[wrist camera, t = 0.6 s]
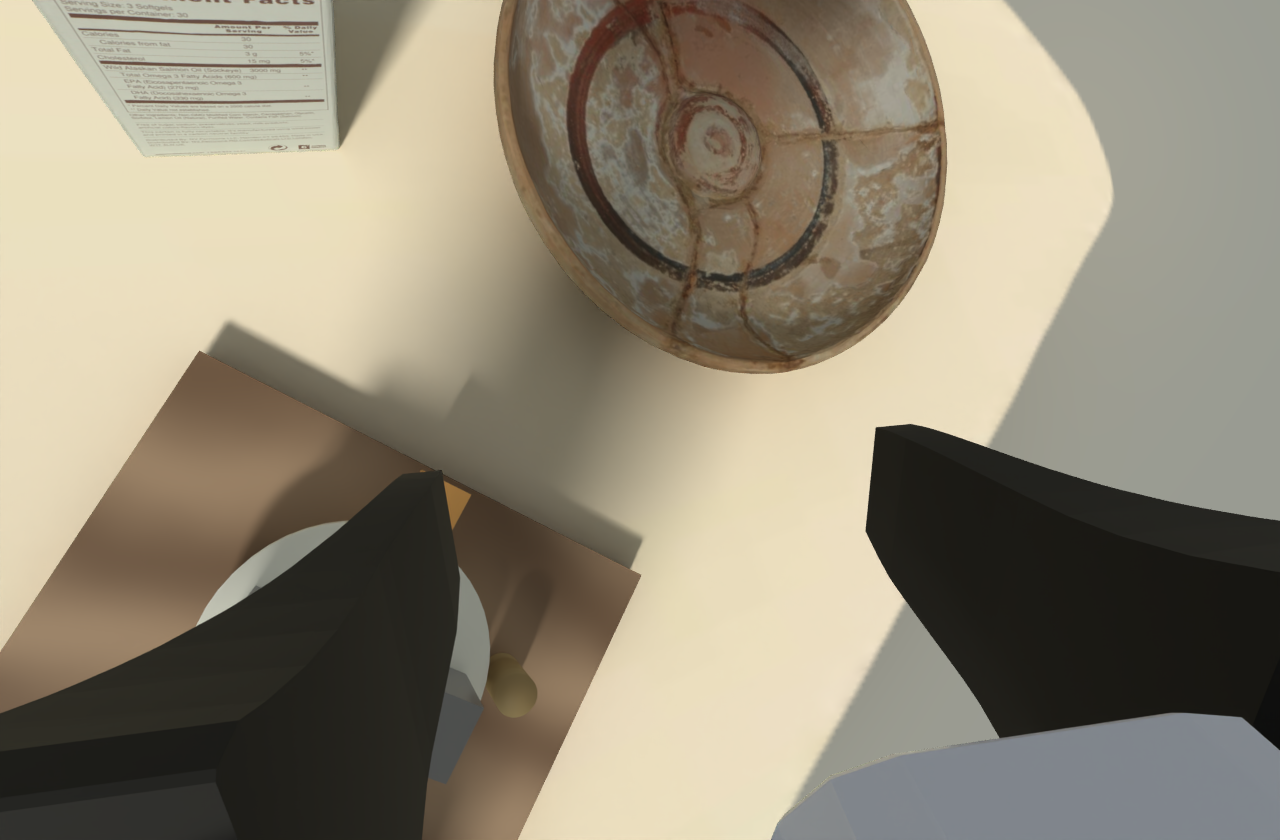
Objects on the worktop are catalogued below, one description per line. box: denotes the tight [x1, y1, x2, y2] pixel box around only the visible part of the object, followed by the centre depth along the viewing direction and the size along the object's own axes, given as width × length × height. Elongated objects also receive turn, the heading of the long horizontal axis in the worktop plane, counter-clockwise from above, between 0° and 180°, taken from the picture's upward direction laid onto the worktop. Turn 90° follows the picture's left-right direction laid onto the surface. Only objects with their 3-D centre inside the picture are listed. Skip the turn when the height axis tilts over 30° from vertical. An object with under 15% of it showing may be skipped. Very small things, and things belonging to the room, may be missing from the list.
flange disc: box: [196, 470, 490, 784], centre depth 25 cm, size 12×10×5 cm
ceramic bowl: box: [494, 0, 947, 374], centre depth 35 cm, size 23×24×5 cm
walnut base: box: [0, 351, 641, 840], centre depth 28 cm, size 15×20×5 cm
